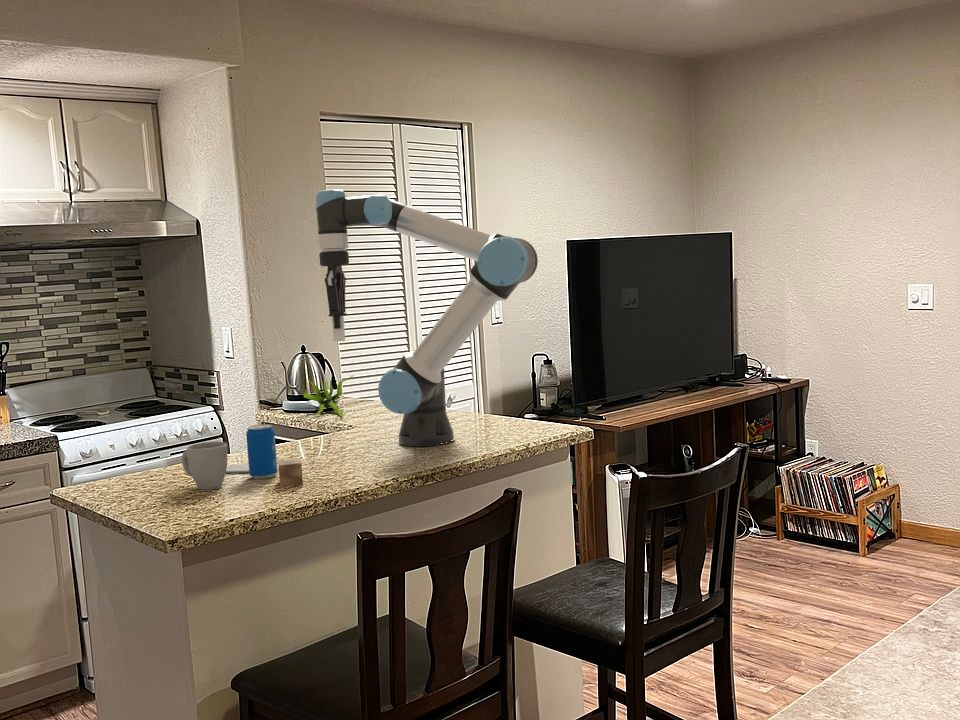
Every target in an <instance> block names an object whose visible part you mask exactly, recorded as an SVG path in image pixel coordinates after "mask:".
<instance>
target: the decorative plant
mask: <svg viewBox="0 0 960 720" xmlns="http://www.w3.org/2000/svg"><path fill="white" fill-rule="evenodd" d="M353 377H354V375H351V376H349V377H347V378H345V379H342V380H340V381H339V383H338V384H337V385H336V394H334V395H333V392H334V387H333V386H332V378H333V374H331V376H330V380H329V386H328V387H329V390H328V388H327V380H323V393H322V391H321V390H320V388H319V387H318V386H317V385H315V383H314V382H312V381H311V380H309V383H310V384H311V387H312V388H313V390H314V391H313V392H314V393H315V394H309V390H306V391H305V390H303V398H305V399H308V400H311V401H314V402H317V403H318V404H319V405H318V409H319V410H318V411H317V412H316V414H315V415H314V416H313V417H312V416H310V418H312V419H313V418H316V417H317V416H318V415H319V414H321V413H322V412H323V411H324V408H326V410H328V409H331V408H332V409H333V410H334V411H335V412H336V413H337V414H338V416H339V417H342V416H344V414H345V416H347V414H346V412H345V411H344V409H342V410H340V408H339V406H337V405H336V404H337V403H339V402H340V400H341V398H339V397H341V396H343V383H344V382H345V381H348V380H349V379H351V378H353ZM332 395H333V396H332ZM338 398H339V399H338Z"/></svg>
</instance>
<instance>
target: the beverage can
mask: <svg viewBox="0 0 960 720" xmlns="http://www.w3.org/2000/svg"><path fill="white" fill-rule="evenodd" d="M245 433H246V434H245V435H246V448H247V460H248V464H249V476H251V477H252V478H253V479H256V480H257V479H258V480H264V479H269V478H273V477H275V475H276V474H277V473H278V462H277V460H278V459H277V449H276V447H277V446H276V435H275V433H276V432H275V429H274V428H273V425H272V424H266V423H265V424H263V423H262V424H253V425H250V426H248V427H247V431H246V432H245Z"/></svg>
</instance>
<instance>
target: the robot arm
mask: <svg viewBox="0 0 960 720" xmlns="http://www.w3.org/2000/svg"><path fill="white" fill-rule="evenodd" d="M315 196H316V197H315V201H316V202H315V204H316V206H315V211H316V221H317V234H318V235H317V236H318V238H316V242H317V243H318V249H319V250H320V252H319V266H321V267H327V271H326V274H325V278H324V283H325V287H326V294H327V303H328V311H329V314H328V317H331V321H332V334H333V335H332V336H333V342H344V341H346V334H345V333H346V332H345V319H344V317H345V316H347V315H348V313H347V312H346V282H347V279H346V276H345V273H344V272H343V267H342V266H348V265H349V264H350V258H349V255H350V254H349V251H348V250H347V249H348V248H349V240H348V239H349V238H348V237H349V236H348V227H362V226H363V227H366V226H369V227H381V228H384V229H387V230H390V231H393V232H396V233H399V234H402V235H405V236H407V237H410V238H413V239H415V240H418V241H421V242H424V243H427V244H429V245H432V246H435V247H438V248H440V249H443V250H446V251H448V252H452V253H453V254H457V255H459V256H462V257H463V258H467V259H470V260H473V261H475V263H474V264H473V266H472V267H471V268H470V270H469V281H468V282H467V283H466V285H465V286H464V288H462V290H461V291H460V292H459V294H458V295H457V296H456V297H455V299H454V300H453V301H452V303H451V304H450V305H449V307H448V308H447V309H446V310H445V312H444V313H443V314H442V316H441V317H440V318H439V319H438V320H437V322H436V323H435V324H434V326H433V327H432V328H431V329H430V331H429V332H428V333H427V335H426V336H425V337H424V339H423V340H421V343H420V344H419V345H417V347H416V349H414V351H409V352H408V351H407V352H405V353H404V354H403V356H402V357H401V358H400V359H399V361H398V362H397V363H396V365H395V366H394V367H393V368H392V369H390V370H388V371H387V372H385V373H384V374H383V376H381V378H380V380H379V383H378V388H377V391H378V392H377V393H378V397H379V400H380V402H381V404H382V405H383V406H384V407H385V408H386V409H387V410H389V411H390V412H391V413H394V414H399V415H403V416H402V417H403V418H402V420H401V423H400V424H401V425H400V428H399V430H398V431H399V432H398V443H399V445H401V446H406V447H431V445H434V446H438V445H437V444H441V443H446V442H449V441H451V440H453V439H454V440H455V436H454V435H455V433H454V430H453V427H452V425H451V422H450V419H449V417H448V414H447V407H446V405H447V403H446V385H445V384H446V383H445V371H446V369H445V367H447V365H448V363H449V362H450V361H451V360H452V358H453V357H454V356H455V355H456V353H458V351H459V349H461V347H462V346H463V345H464V343H465V342H466V341H467V340H468V339H469V337H470V336H471V335H472V334H473V332H474V331H475V330H476V328H478V326H479V325H480V323H481V322H482V321H483V319H485V318H486V316H487V315H488V313H489V312H490V311H491V309H492V308H494V306H495V304H496V303H497V302H499V301H507V299H508V298H509V296H510V295H512V293H513V292H514V290H515V289H516V288H517V287H518V286H519V284H522V283H524V282H527V281H528V280H530V279H531V277H532V276H534V274H535V272H536V271H537V268H538V263H539V258H538V253H537V251H536V249H535V248H534V246H533V245H532V244H531V243H530V242H529V241H527V240H525V239H523V238H520V237H519V238H517V237H511V236H507V235H503V234H500V233H494V234H492V235H491V234H488V233H486V232H482V231H479V230H477V229H473V228H471V227H468V226H466V225H462V224H460V223H458V222H455V221H451V220H449V219H445V218H443V217H440V216H437V215H434V214H432V213H429V212H426V211H423V210H420V209H417V208H415V207H411V206H408V205H406V204H403V203H400V202H399V201H397V200H395V199H391V198H389V197H388V195H385V194H371V195H361V196H346V193H345V191H344V190H343V189H325V190H319V191H318V192H317V193H316V195H315ZM454 440H453V441H454ZM449 443H450V442H449ZM446 444H447V443H446ZM441 445H442V444H441Z"/></svg>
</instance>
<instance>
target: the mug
mask: <svg viewBox="0 0 960 720" xmlns="http://www.w3.org/2000/svg"><path fill="white" fill-rule="evenodd" d="M228 456H229V455H228V445H227V443H226V442H224V441H207V442H198V443H194V444H190V445H188V446H187V447H186V450H184V451H183V452H182V454H181V464H182V468H183V470H184V472H185V474H186V475H187V476H188V477H191V478H192V479H193V481H194V483H195V485H196V486H197V489H198V490H201V491H202V490H203V491H205V490H206V491H209V490H215V489H219V488H222V486H223V483H224V479H225V476H226V475H227V474H226V469H227V468H228V458H229V457H228Z"/></svg>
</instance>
